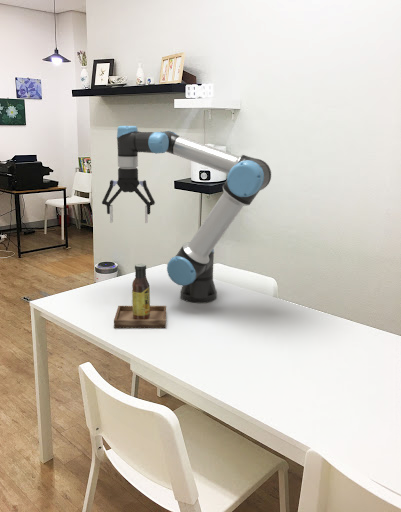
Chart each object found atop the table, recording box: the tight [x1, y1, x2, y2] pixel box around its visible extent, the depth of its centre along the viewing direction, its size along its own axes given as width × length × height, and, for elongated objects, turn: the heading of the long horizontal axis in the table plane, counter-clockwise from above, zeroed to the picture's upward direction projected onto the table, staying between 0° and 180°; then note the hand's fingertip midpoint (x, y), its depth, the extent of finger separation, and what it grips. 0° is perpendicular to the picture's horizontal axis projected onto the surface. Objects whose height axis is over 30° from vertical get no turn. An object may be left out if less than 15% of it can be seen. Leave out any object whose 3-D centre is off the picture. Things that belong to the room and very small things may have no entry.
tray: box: [113, 305, 167, 329], centre depth 178 cm, size 18×14×3 cm
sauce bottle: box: [131, 263, 151, 320], centre depth 176 cm, size 6×6×20 cm
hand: (129, 222), depth 192 cm, fingers open, 13 cm apart
